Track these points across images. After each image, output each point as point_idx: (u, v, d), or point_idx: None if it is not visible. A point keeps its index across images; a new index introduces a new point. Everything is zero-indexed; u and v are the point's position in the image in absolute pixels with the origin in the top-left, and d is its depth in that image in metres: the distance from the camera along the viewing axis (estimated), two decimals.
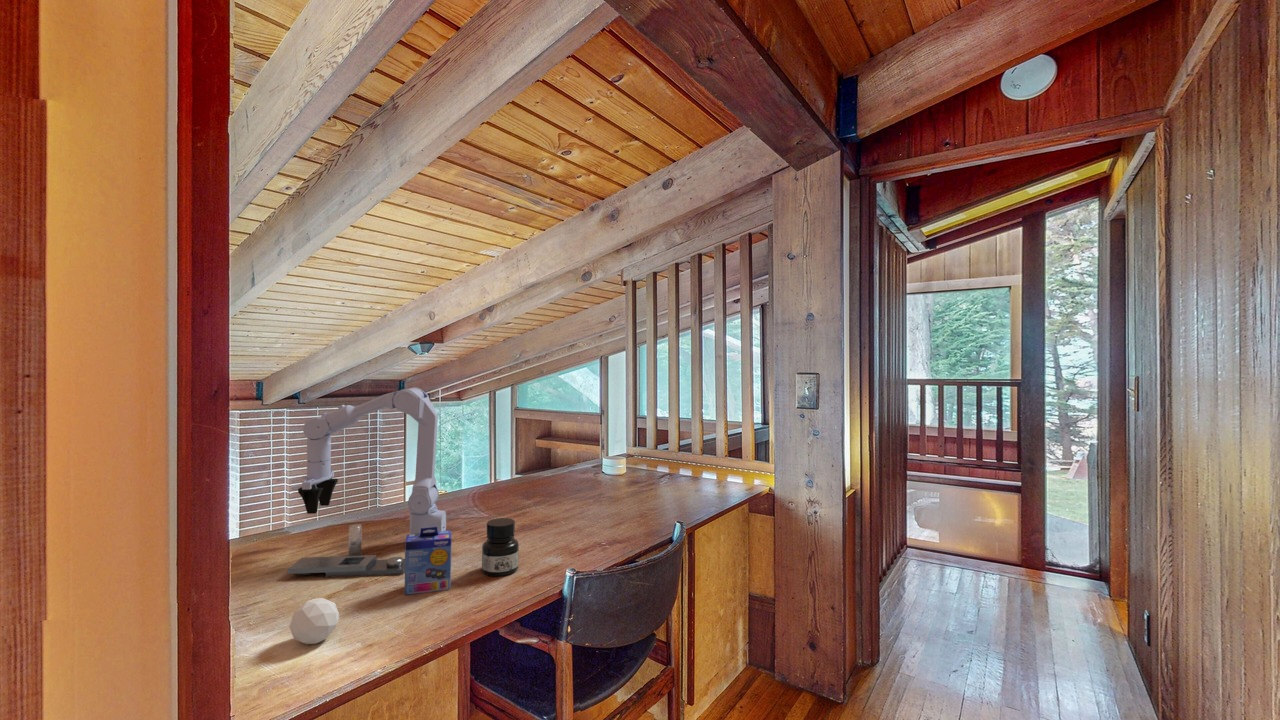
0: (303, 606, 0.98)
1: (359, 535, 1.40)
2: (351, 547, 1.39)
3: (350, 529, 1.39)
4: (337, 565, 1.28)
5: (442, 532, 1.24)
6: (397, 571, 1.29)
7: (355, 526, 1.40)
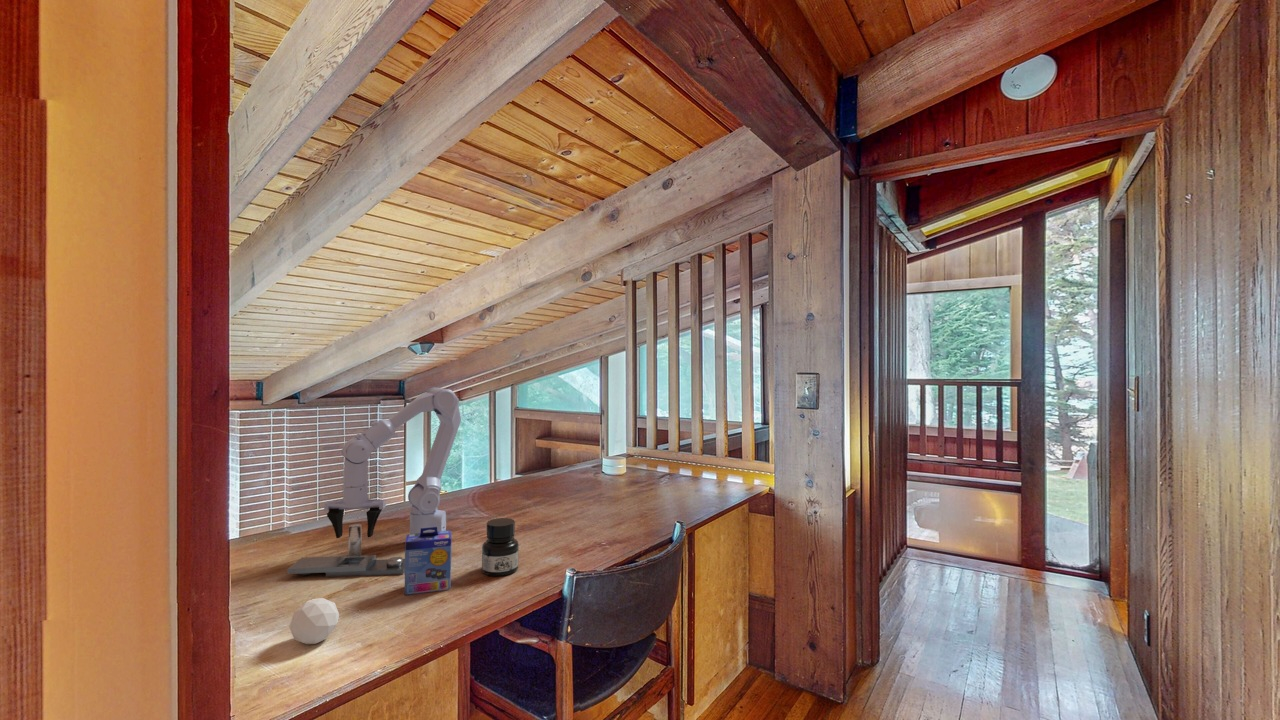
0: (303, 606, 0.98)
1: (359, 535, 1.40)
2: (351, 547, 1.39)
3: (350, 529, 1.39)
4: (337, 565, 1.28)
5: (442, 532, 1.24)
6: (397, 571, 1.29)
7: (355, 526, 1.40)
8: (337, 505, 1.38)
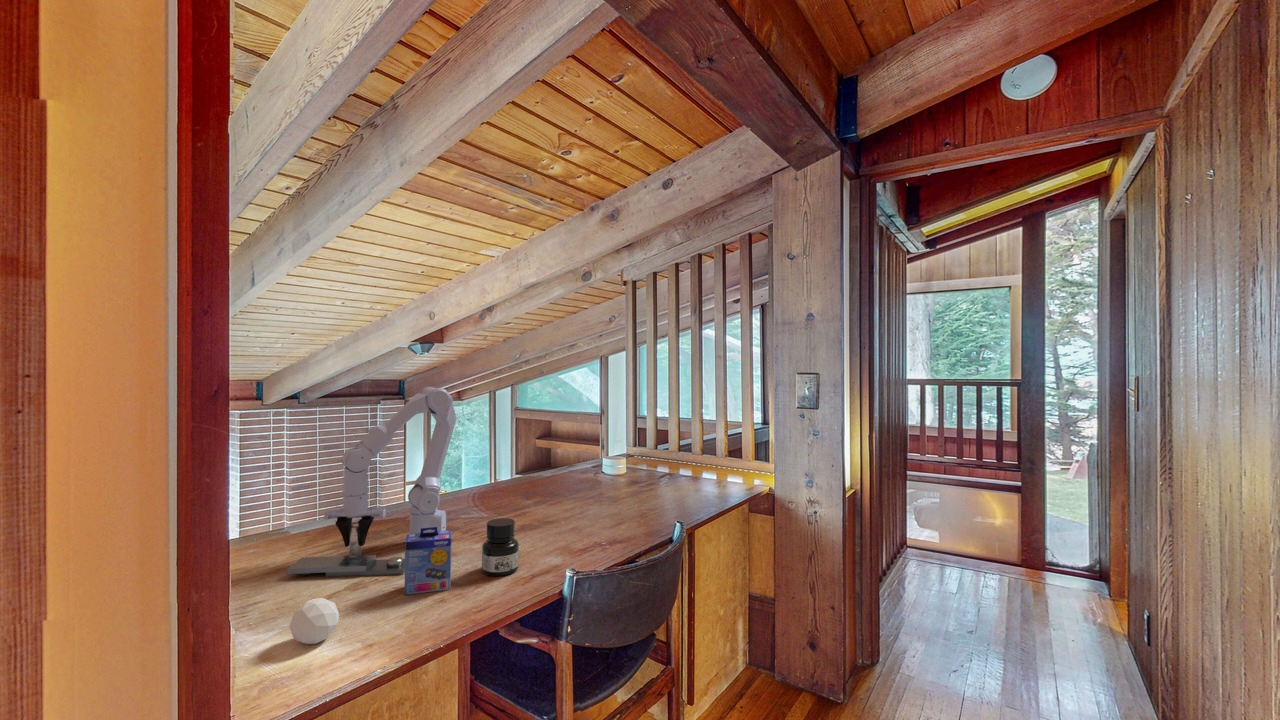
0: (303, 606, 0.98)
1: (359, 535, 1.40)
2: (351, 547, 1.39)
3: (350, 529, 1.39)
4: (337, 565, 1.28)
5: (442, 532, 1.24)
6: (397, 571, 1.29)
7: (355, 526, 1.40)
8: (337, 514, 1.38)
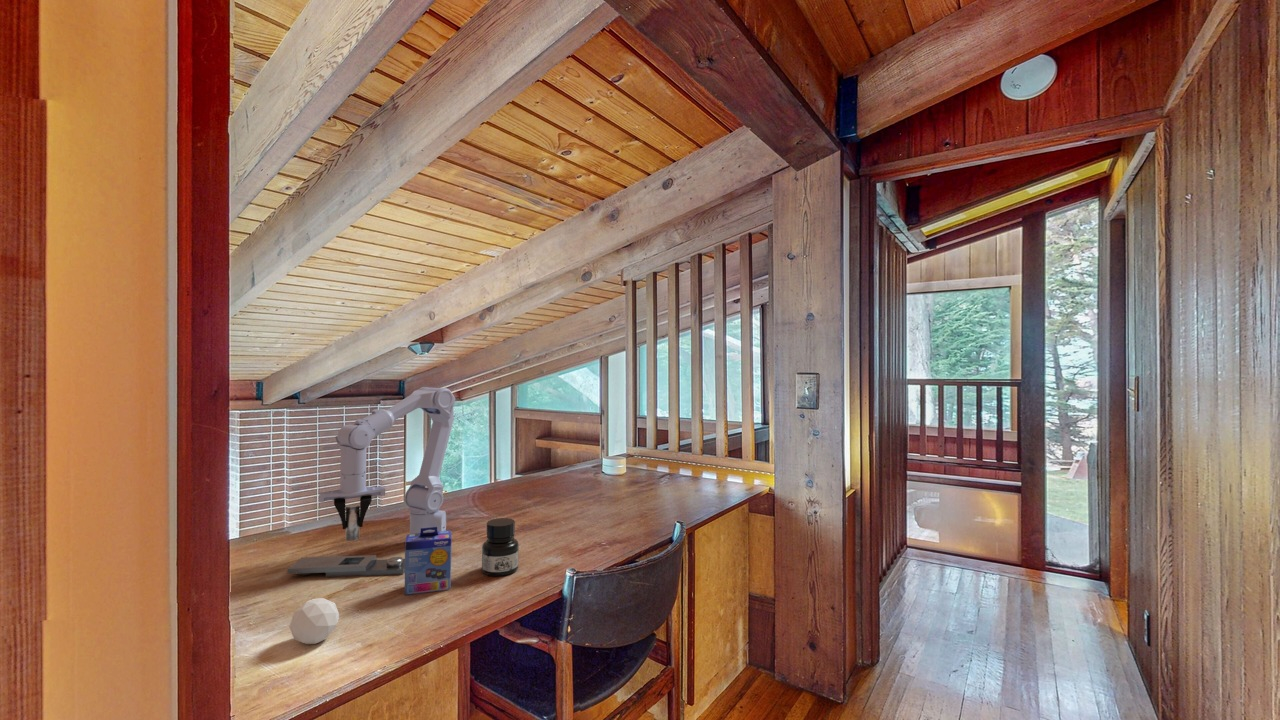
0: (303, 606, 0.98)
1: (358, 516, 1.34)
2: (350, 528, 1.32)
3: (349, 510, 1.32)
4: (337, 565, 1.28)
5: (442, 532, 1.24)
6: (397, 571, 1.29)
7: (353, 507, 1.33)
8: (336, 495, 1.30)
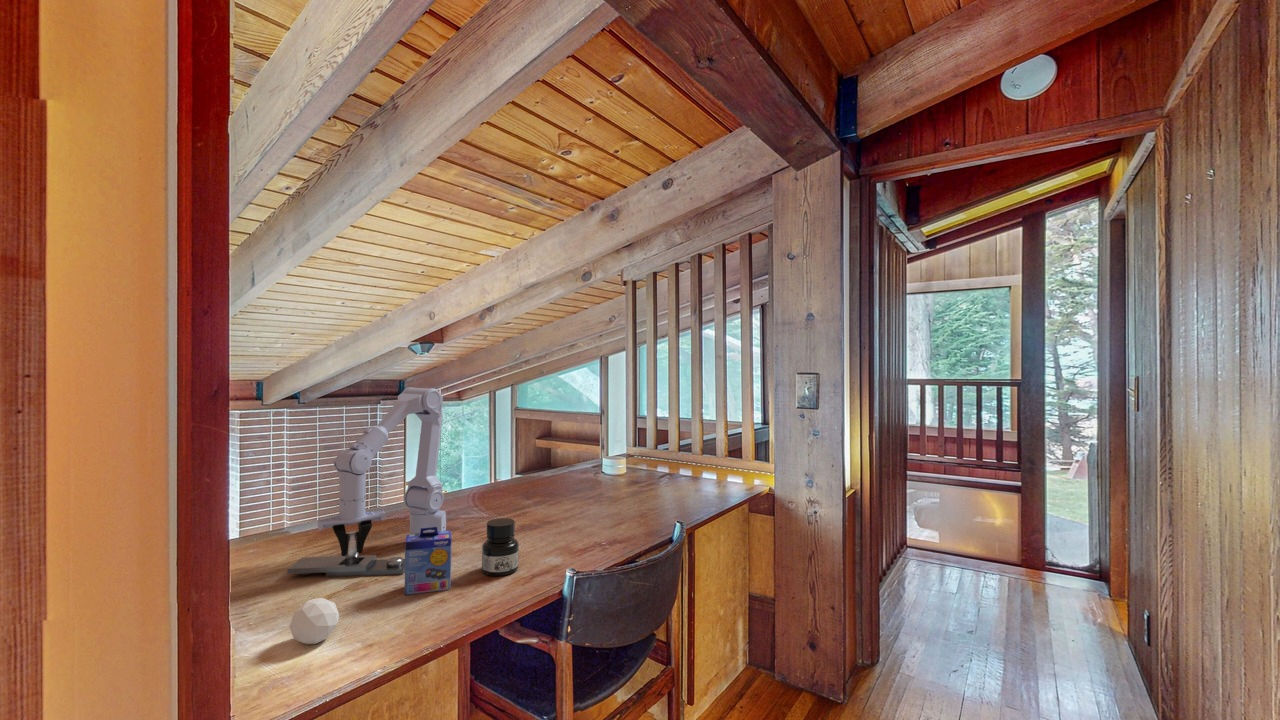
0: (303, 606, 0.98)
1: (358, 542, 1.31)
2: (350, 555, 1.30)
3: (349, 537, 1.30)
4: (337, 565, 1.28)
5: (442, 532, 1.24)
6: (397, 571, 1.29)
7: (353, 533, 1.31)
8: (336, 522, 1.27)
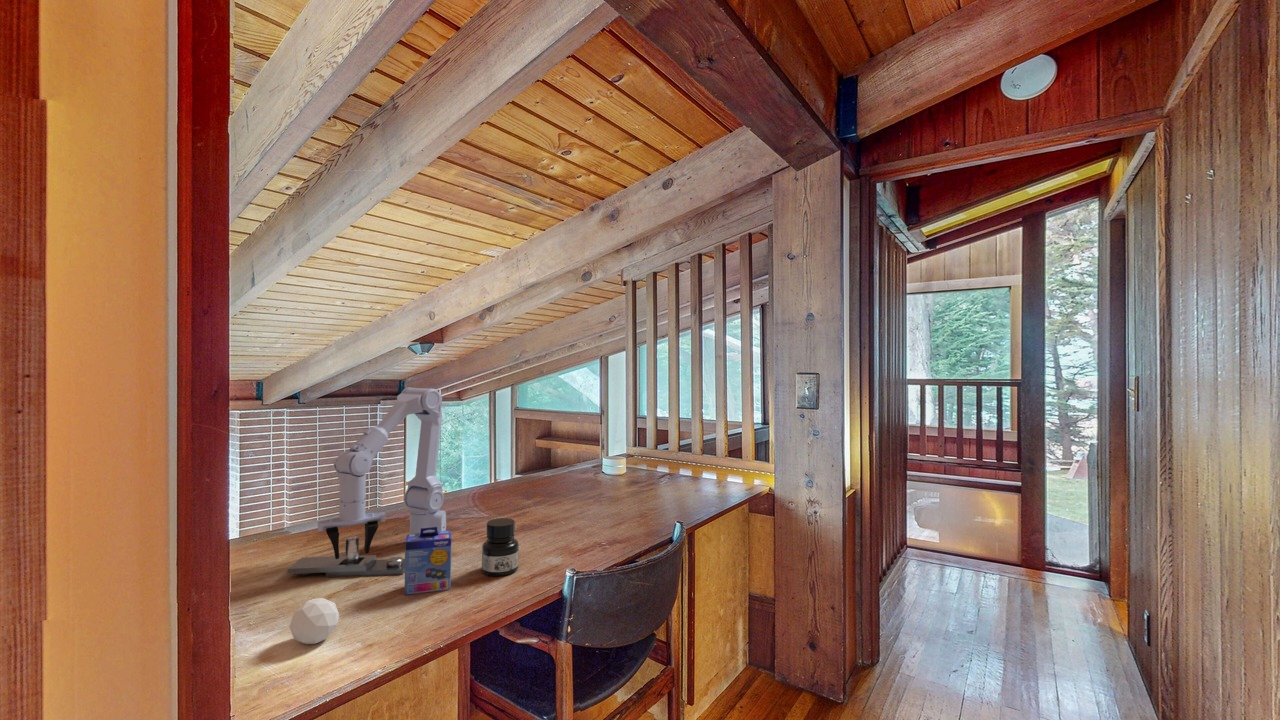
0: (303, 606, 0.98)
1: (358, 547, 1.31)
2: (350, 561, 1.30)
3: (349, 542, 1.30)
4: (337, 565, 1.28)
5: (442, 532, 1.24)
6: (397, 571, 1.29)
7: (353, 538, 1.31)
8: (336, 523, 1.27)
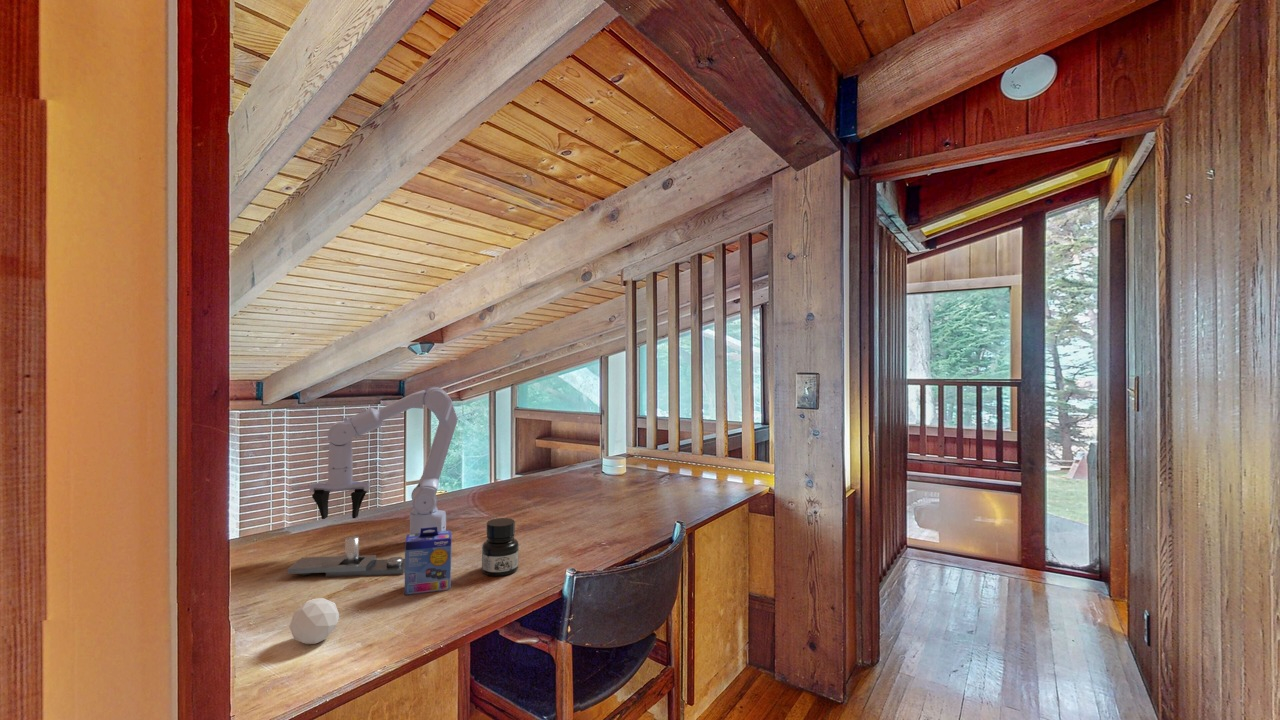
0: (303, 606, 0.98)
1: (358, 547, 1.31)
2: (350, 561, 1.30)
3: (349, 542, 1.30)
4: (337, 565, 1.28)
5: (442, 532, 1.24)
6: (397, 571, 1.29)
7: (353, 538, 1.31)
8: (322, 486, 1.40)
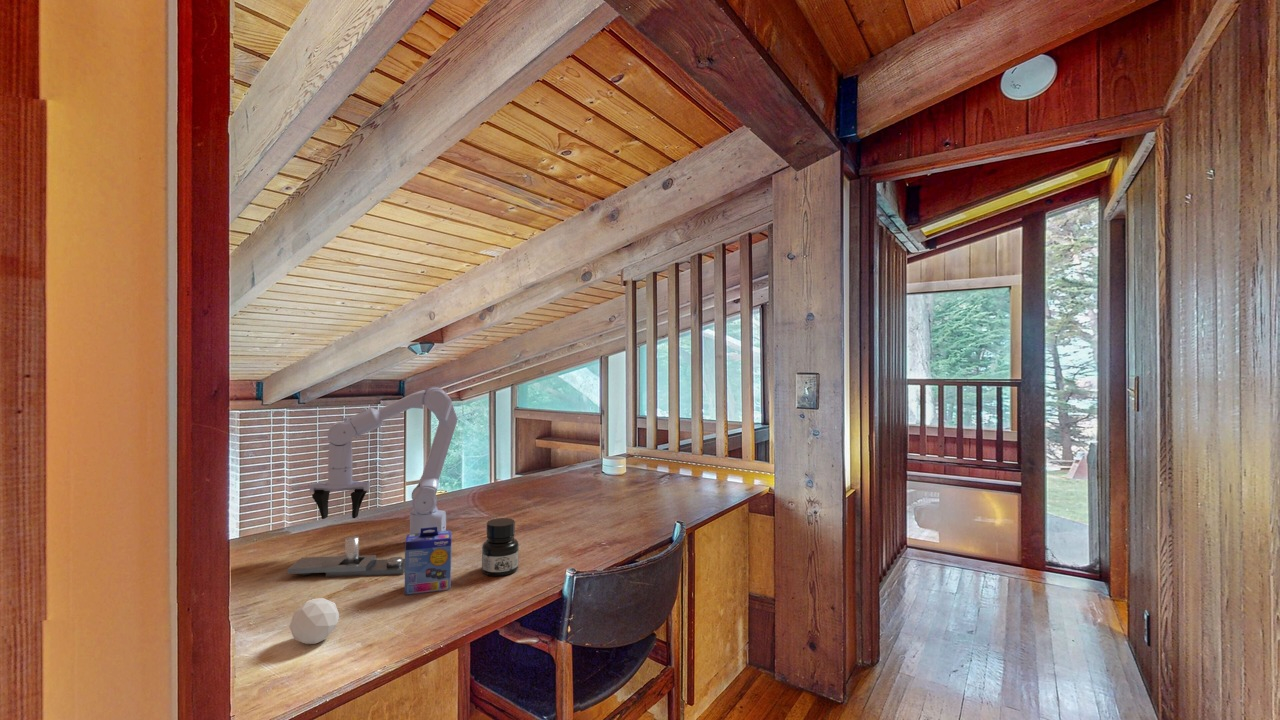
0: (303, 606, 0.98)
1: (358, 547, 1.31)
2: (350, 561, 1.30)
3: (349, 542, 1.30)
4: (337, 565, 1.28)
5: (442, 532, 1.24)
6: (397, 571, 1.29)
7: (353, 538, 1.31)
8: (322, 486, 1.40)
